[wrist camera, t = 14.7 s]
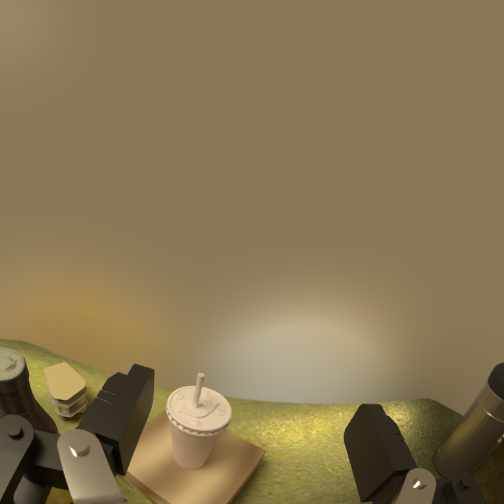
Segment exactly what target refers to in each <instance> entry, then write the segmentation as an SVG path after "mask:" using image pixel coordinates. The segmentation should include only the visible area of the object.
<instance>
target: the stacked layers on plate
mask: <svg viewBox="0 0 504 504" xmlns="http://www.w3.org/2000/svg"><path fill="white" fill-rule="evenodd" d="M44 372H45V377H46V381H47V385H48V390H49V394H50V397H51V401H52V405H53V408H54V410H55V411H56V413H57V414H58V415H60V416H65V417H72V416H73V415H75V414H76V413H83V412H85V411H86V408H87V407H86V405H87V403H88V398H87V396H86V392H87V390H86V387H85V385H86V382H85V380H84V379H83V378H82V377H81V376H80V375H79V374H78V373H77V372H76V371H75V370H73V369H72V368H71V367H70V366H69V365H68V364H67V363H66V362H63V363H60V364H57V365H54V366H51V367H48V368H45V369H44Z"/></svg>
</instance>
